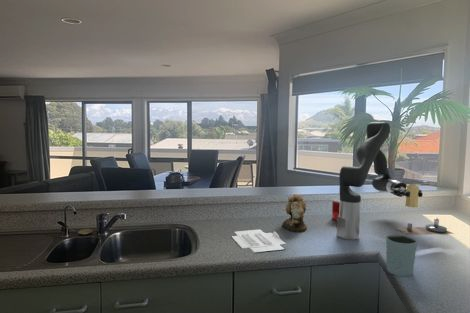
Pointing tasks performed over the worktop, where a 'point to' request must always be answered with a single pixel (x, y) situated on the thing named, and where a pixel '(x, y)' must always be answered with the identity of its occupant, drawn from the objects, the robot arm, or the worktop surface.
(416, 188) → the brass sleeve
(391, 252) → the pale green pot
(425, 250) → the worktop surface
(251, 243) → the white paper stack
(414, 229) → the walnut board
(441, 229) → the disc
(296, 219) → the brown bust statue
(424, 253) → the worktop surface
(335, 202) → the canned food
